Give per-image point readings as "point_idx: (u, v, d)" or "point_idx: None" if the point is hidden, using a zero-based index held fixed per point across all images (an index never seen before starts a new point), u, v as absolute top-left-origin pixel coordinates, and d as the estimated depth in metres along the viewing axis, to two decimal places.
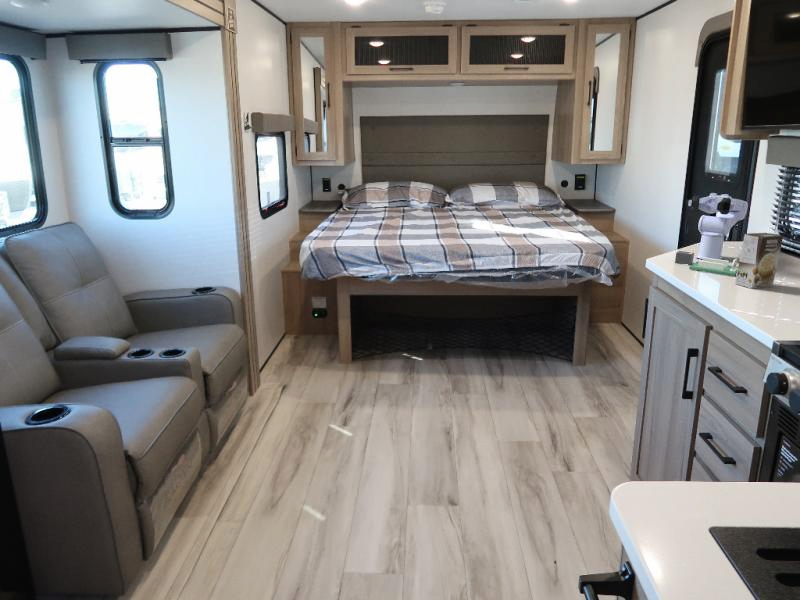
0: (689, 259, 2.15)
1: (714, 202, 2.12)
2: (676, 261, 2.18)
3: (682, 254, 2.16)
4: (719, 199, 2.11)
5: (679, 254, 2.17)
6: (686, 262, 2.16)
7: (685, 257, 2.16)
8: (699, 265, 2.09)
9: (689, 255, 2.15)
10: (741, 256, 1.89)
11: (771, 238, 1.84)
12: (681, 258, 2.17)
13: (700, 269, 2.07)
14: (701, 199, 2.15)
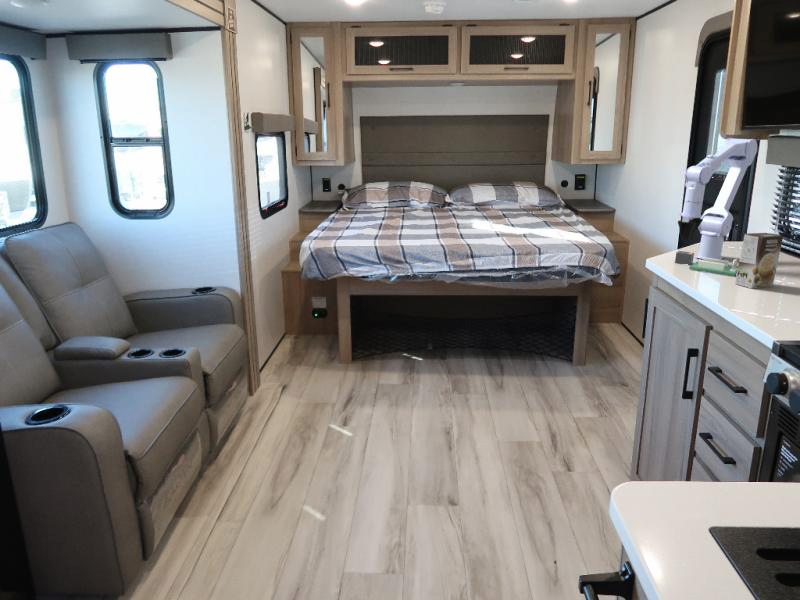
0: (689, 259, 2.15)
1: None
2: (676, 261, 2.18)
3: (682, 254, 2.16)
4: (683, 216, 2.13)
5: (679, 254, 2.17)
6: (686, 262, 2.16)
7: (685, 257, 2.16)
8: (699, 265, 2.09)
9: (689, 255, 2.15)
10: (741, 256, 1.89)
11: (771, 238, 1.84)
12: (681, 258, 2.17)
13: (700, 269, 2.07)
14: None
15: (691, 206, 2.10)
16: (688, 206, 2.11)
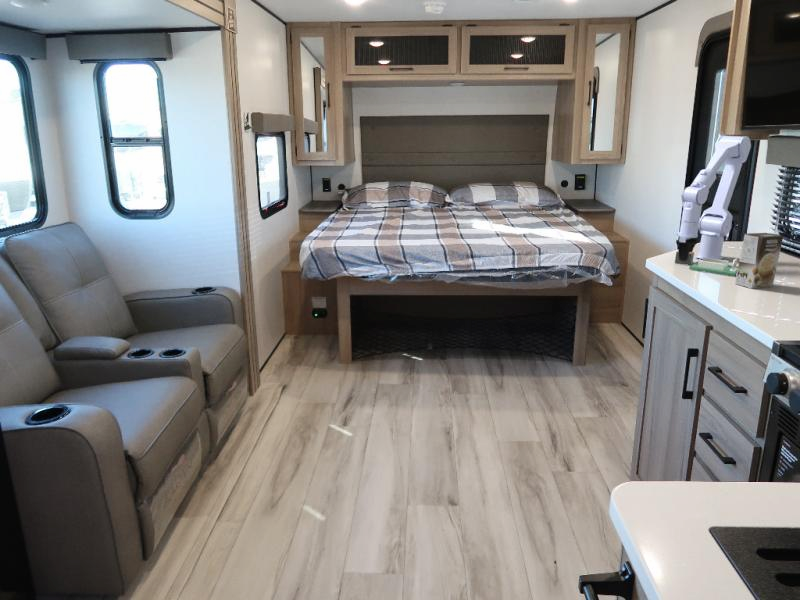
0: (689, 259, 2.15)
1: None
2: (676, 261, 2.18)
3: None
4: (680, 236, 2.15)
5: None
6: (686, 262, 2.16)
7: None
8: (699, 265, 2.09)
9: (689, 255, 2.15)
10: (741, 256, 1.89)
11: (771, 238, 1.84)
12: None
13: (700, 269, 2.07)
14: None
15: (688, 226, 2.12)
16: (685, 226, 2.13)
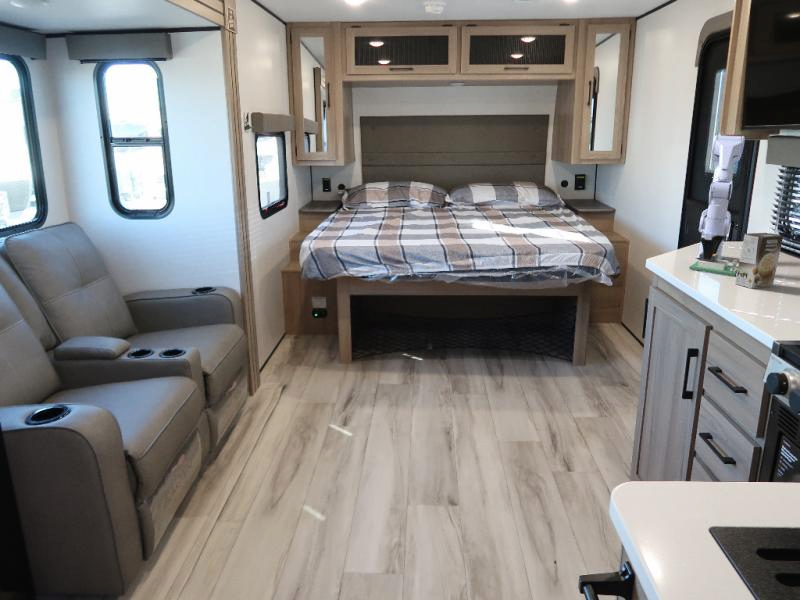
0: (713, 261, 2.08)
1: None
2: None
3: None
4: (705, 233, 2.07)
5: (702, 256, 2.09)
6: None
7: None
8: (699, 265, 2.09)
9: (713, 257, 2.08)
10: (741, 256, 1.89)
11: (771, 238, 1.84)
12: (705, 260, 2.09)
13: (700, 269, 2.07)
14: None
15: (713, 223, 2.04)
16: (711, 223, 2.05)
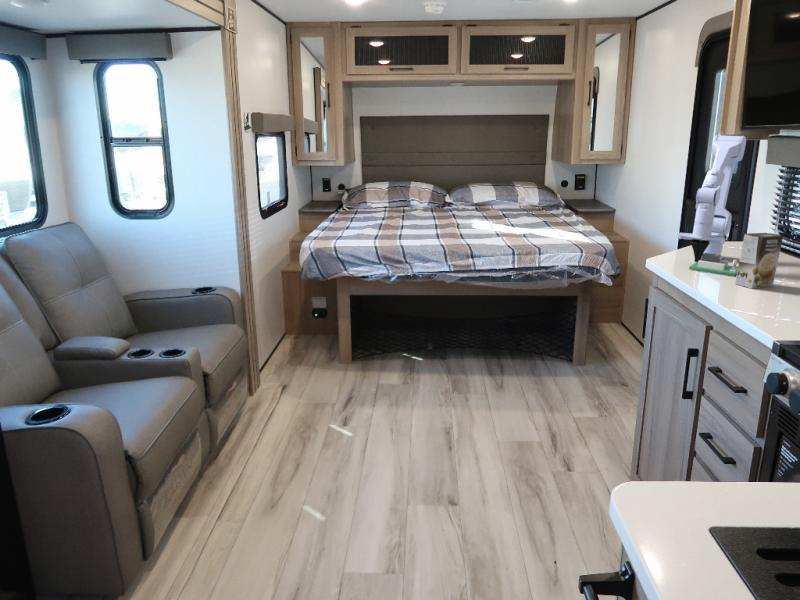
0: (715, 261, 2.07)
1: None
2: None
3: (708, 256, 2.08)
4: None
5: (705, 256, 2.09)
6: None
7: (711, 259, 2.08)
8: (699, 265, 2.09)
9: (715, 257, 2.07)
10: (741, 256, 1.89)
11: (771, 238, 1.84)
12: (707, 260, 2.09)
13: (700, 269, 2.07)
14: (689, 237, 2.11)
15: (712, 227, 2.08)
16: (711, 228, 2.07)
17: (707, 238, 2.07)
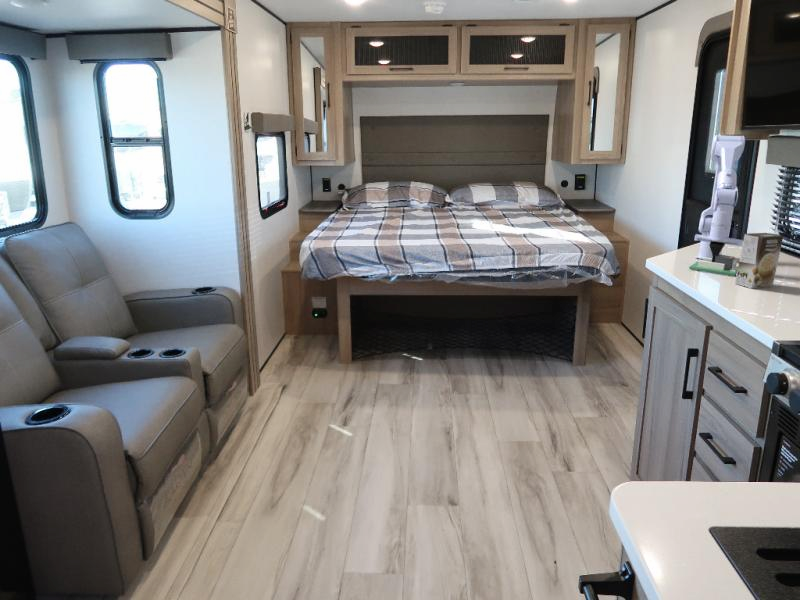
0: (729, 263, 2.05)
1: None
2: None
3: (722, 258, 2.06)
4: None
5: (719, 258, 2.06)
6: (726, 266, 2.06)
7: (725, 261, 2.05)
8: (699, 265, 2.09)
9: (730, 259, 2.04)
10: (741, 256, 1.89)
11: (771, 238, 1.84)
12: (721, 262, 2.06)
13: (700, 269, 2.07)
14: (706, 239, 2.08)
15: (729, 229, 2.05)
16: (728, 230, 2.04)
17: (724, 240, 2.04)
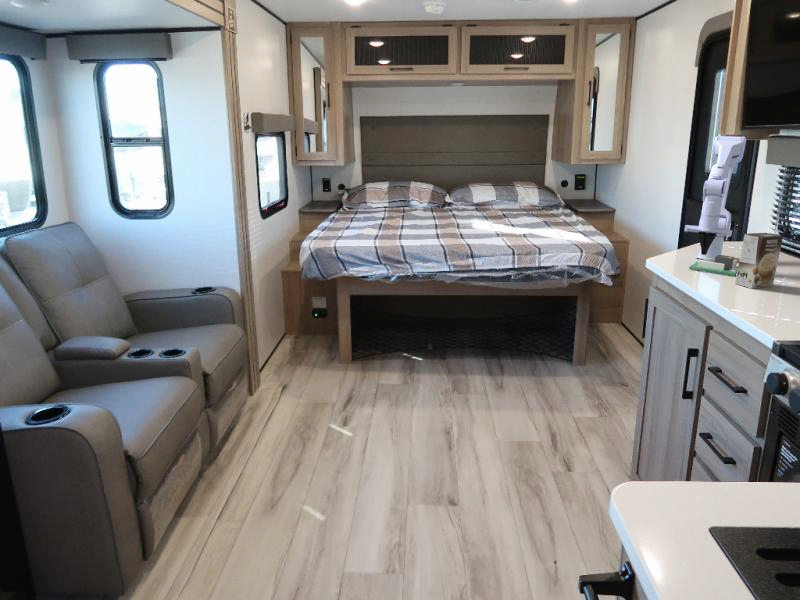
0: (729, 263, 2.05)
1: None
2: None
3: (721, 258, 2.06)
4: (713, 231, 2.07)
5: (718, 258, 2.06)
6: (726, 266, 2.06)
7: (724, 261, 2.05)
8: (699, 265, 2.09)
9: (729, 259, 2.04)
10: (741, 256, 1.89)
11: (771, 238, 1.84)
12: (720, 262, 2.06)
13: (700, 269, 2.07)
14: (696, 229, 2.10)
15: (719, 220, 2.07)
16: (718, 220, 2.06)
17: (714, 230, 2.06)
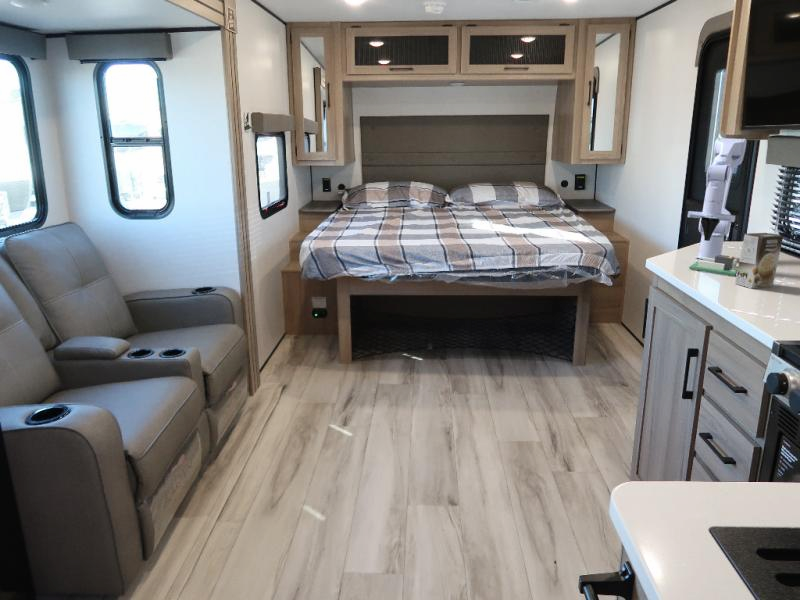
0: (729, 263, 2.05)
1: None
2: None
3: (721, 258, 2.06)
4: None
5: (718, 258, 2.06)
6: (726, 266, 2.06)
7: (724, 261, 2.05)
8: (699, 265, 2.09)
9: (729, 259, 2.04)
10: (741, 256, 1.89)
11: (771, 238, 1.84)
12: (720, 262, 2.06)
13: (700, 269, 2.07)
14: (699, 215, 2.10)
15: (722, 205, 2.06)
16: (721, 206, 2.06)
17: (717, 216, 2.06)
